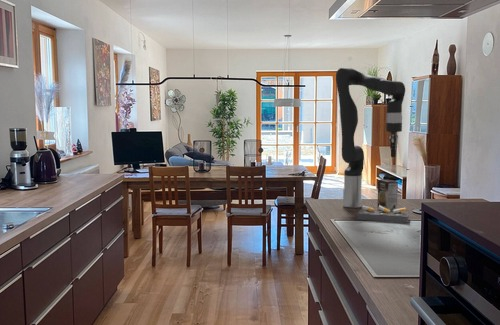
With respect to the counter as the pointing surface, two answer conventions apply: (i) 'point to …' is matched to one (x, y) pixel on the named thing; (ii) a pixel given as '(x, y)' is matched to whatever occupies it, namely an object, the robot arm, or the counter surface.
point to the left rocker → (368, 208)
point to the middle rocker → (383, 209)
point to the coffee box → (387, 194)
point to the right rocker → (399, 210)
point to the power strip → (383, 216)
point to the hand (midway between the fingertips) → (393, 156)
